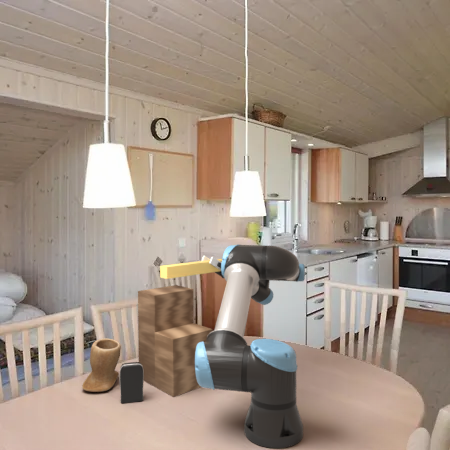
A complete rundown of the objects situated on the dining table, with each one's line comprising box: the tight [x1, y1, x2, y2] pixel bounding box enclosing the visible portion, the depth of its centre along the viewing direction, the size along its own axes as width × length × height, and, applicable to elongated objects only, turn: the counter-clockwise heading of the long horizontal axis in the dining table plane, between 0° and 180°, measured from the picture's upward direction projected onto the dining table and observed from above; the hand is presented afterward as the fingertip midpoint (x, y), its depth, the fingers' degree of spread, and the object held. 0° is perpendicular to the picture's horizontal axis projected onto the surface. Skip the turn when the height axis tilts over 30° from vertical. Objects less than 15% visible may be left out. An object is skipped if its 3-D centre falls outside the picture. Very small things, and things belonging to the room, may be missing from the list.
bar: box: [159, 258, 222, 280], centre depth 158 cm, size 28×4×4 cm, turn 133°
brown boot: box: [81, 337, 122, 393], centre depth 143 cm, size 15×12×15 cm
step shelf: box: [137, 284, 213, 398], centre depth 146 cm, size 16×20×30 cm
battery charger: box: [119, 361, 144, 404], centre depth 132 cm, size 7×4×11 cm, turn 103°
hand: (206, 259), depth 161 cm, fingers closed on bar, 4 cm apart
